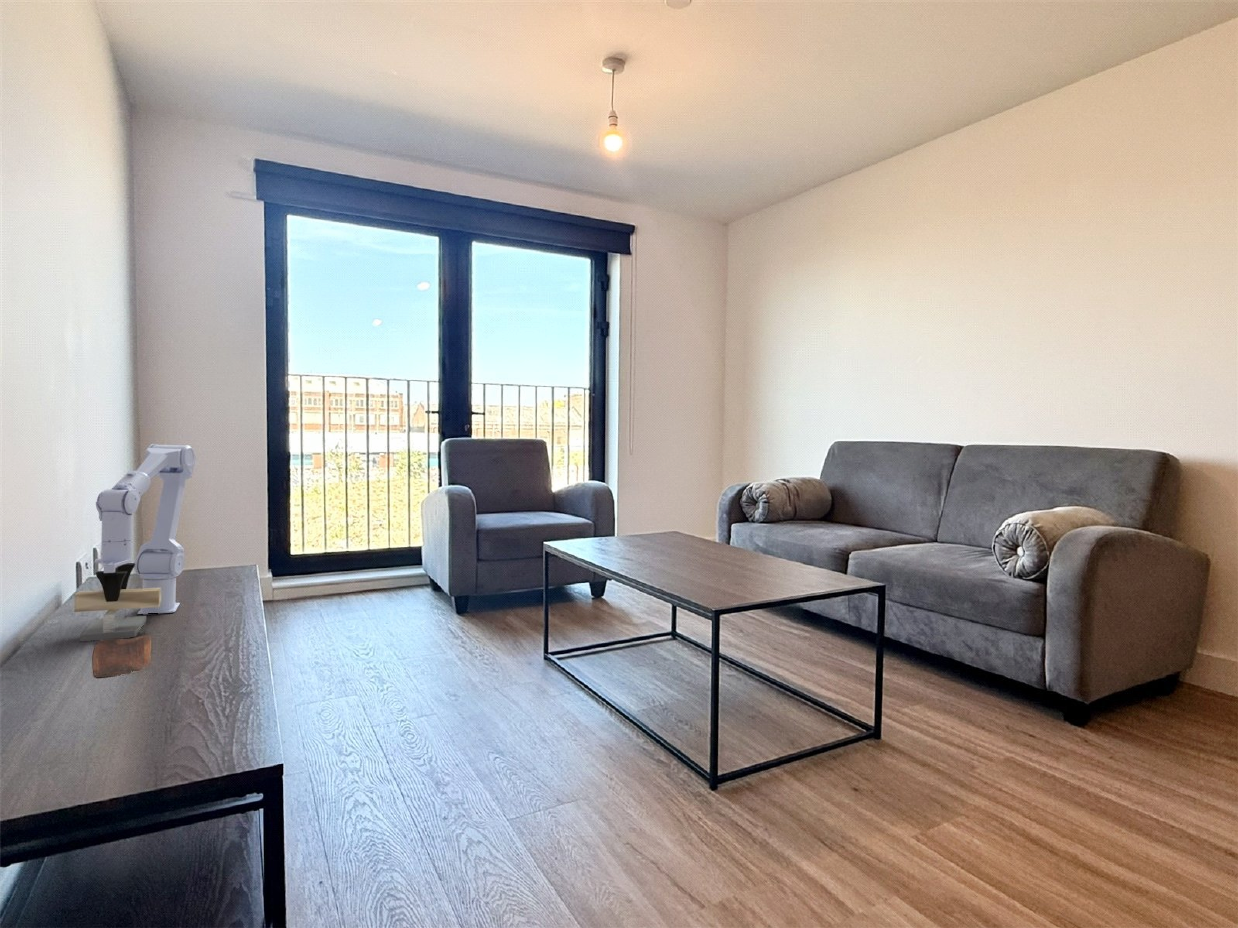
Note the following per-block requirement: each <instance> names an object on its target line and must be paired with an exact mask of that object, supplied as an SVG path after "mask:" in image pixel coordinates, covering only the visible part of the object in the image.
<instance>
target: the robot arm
mask: <svg viewBox="0 0 1238 928" xmlns="http://www.w3.org/2000/svg"><path fill="white" fill-rule="evenodd" d="M144 454H145V455H144V457H145V458H144V460H143V461H142V463H140V465H139V467H138V468H137V469H136V470H130V471H129V470H128V471H127V473H125V474H124V476H123V477H122V478H121V479H120V480H119V481H118V482H117V483H115V484H114V486H113V487H112V488H111V489H110V488H107V489H104V490H103V491H101V492H100V493H98V495H97V499H96V501H95V507H96V510H97V512H98V520H99V521H101V543H100V544H101V551H100V552H101V554H100V558H96V559H94V564H100V565H101V566H102V567H103V570H98V571H96V572H95V577H96V578H97V579H98V581H99V583H100V584H101V587H102V590H103V592H104V596H105V599H106V602H116V601H118V599H119V596H120V590H121V589H127V587H128V584H129V579H130V576H131V574H132V571H133V570H134V571H135V573H136V574H137V575H138V576H139V579H142V588H161V604H160V606H159V607H150V608H140V610H139V611H137V615H138V614H143V615H149V614H148V613H158V614H172V613H175V612H176V610H177V609H178V608H179V606H180V602H176V592H177V591H176V588H177V577H178V576H179V575H181V573H182V572H184V568H185V560H186V559H185V550H186V549H185V548H184V547H183V546H182V545H181V544H180V543H179V542H177V541H176V537H177V536H176V535H177V530H178V525H179V520H180V514H181V510H182V505H183V500H184V496H185V495H184V494H185V489H186V485H187V480H188V479H191V478H192V476H193V473H194V469H195V463H196V455H195V450H194V448H193V447H192V446H191V445H188V444H187V445H186V444H185V445H176V444H175V445H174V444H172V445H171V444H157V443H151V444H150V445H149V446H148V447H147V449H145V453H144ZM154 477H156V478H158V479H159V478H160V479H161V480H162V482H163V485H162V489H161V494H160V498H159V504H158V508H157V512H156V513H157V514H156V517H155V518H156V519H155V523H154V526H153V527H154V528H153V533H152V538H151V539H150V540H147V542H144V543H143V544H142V545H140V548H139V550H138V553H137V555H136V557H135V559H134V562H133V556H132V555H133V553H132V552H133V547H132V546H133V545H132V544H133V514H134V513H135V512H137V510H138V508H139V504H140V502H141V497H143V495H144V494H145V493H146V492H147V491H148V490H149V488H150V487H151V485H152V481H151V480H152V479H153V478H154Z"/></svg>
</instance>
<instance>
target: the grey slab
mask: <svg viewBox="0 0 1238 928" xmlns="http://www.w3.org/2000/svg"><path fill="white" fill-rule="evenodd" d="M145 622H146V623H147V615H138V616H137V615H135V616H126V618H125V620H124V621H123V622H122V623H121V624H120V626H119V627H118V628H117V629H116V630H115V631H114V632H106V633H103V618H96V619H94V621H92V623H91V624H89V625H88V626H87V628H86V629H85V630H83V632H82V633H81V634H80V635H79V642H80V641H82V642H92V641H93V640H95V641H101V640H107V639H131V638H130V637H134V638H136V637H137V635H138V634H139V633H140V631H141V630H142V628H143V627H144V626H145V624H146V623H145ZM144 623H145V624H144ZM143 625H144V626H143ZM142 626H143V627H142ZM141 627H142V628H141ZM140 629H141V630H140ZM139 630H140V631H139ZM138 632H139V633H138ZM137 633H138V634H137ZM135 636H136V637H135ZM91 640H92V641H91Z"/></svg>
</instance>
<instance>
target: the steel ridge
mask: <svg viewBox="0 0 1238 928" xmlns="http://www.w3.org/2000/svg"><path fill="white" fill-rule="evenodd" d="M126 617H127V609H117V610H106V612H105V613H103V617H102V619H103V633H106V632H114V631H115V630H116V629H117V628H118V627H119V626H120V624H121V623H122V622H123V621H124V620H125V618H126Z"/></svg>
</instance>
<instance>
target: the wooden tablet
mask: <svg viewBox="0 0 1238 928" xmlns="http://www.w3.org/2000/svg"><path fill="white" fill-rule="evenodd" d="M151 652H152V638H151V636H150V635H145V634H144V635H139V636H136V637H134V638H121V639H107V640H98V642H96V644H95V646H94V649H93V655H92V658H93V659H92V667H93V669H92V670H93V674H94V676H95V677H96V678H110V677H121V676H120V675H121V674H125V675H130V673H131V671H132V672H133V671H140V670H141V669H142V667H147V664H149V663H150V664H151ZM149 661H150V662H149ZM142 670H143V669H142ZM117 675H118V676H117Z"/></svg>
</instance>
